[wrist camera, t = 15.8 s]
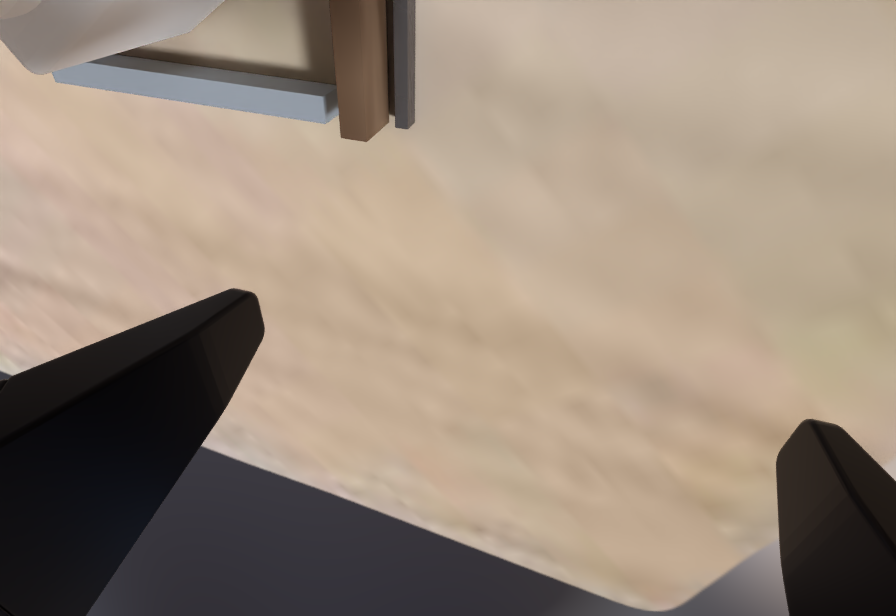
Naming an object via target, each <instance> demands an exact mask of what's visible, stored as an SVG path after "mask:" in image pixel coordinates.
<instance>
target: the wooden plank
mask: <svg viewBox="0 0 896 616" xmlns="http://www.w3.org/2000/svg"><path fill="white" fill-rule="evenodd" d="M329 5H330V16H331V28H332V40H333V51H334V63H335V74H336V86H337V98H338V109H339V121H340V133H341V138H345V139H351V140H357V141H364V142H367V141H368V140H370V139H371V138H372V137H373V136H374V135H375V134H376V133H377V132H379V131H380V130H381V129H382V128H383V127H384V126H385V125H386V124H388V123H389V102H388V63H387V24H386V0H329Z"/></svg>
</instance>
